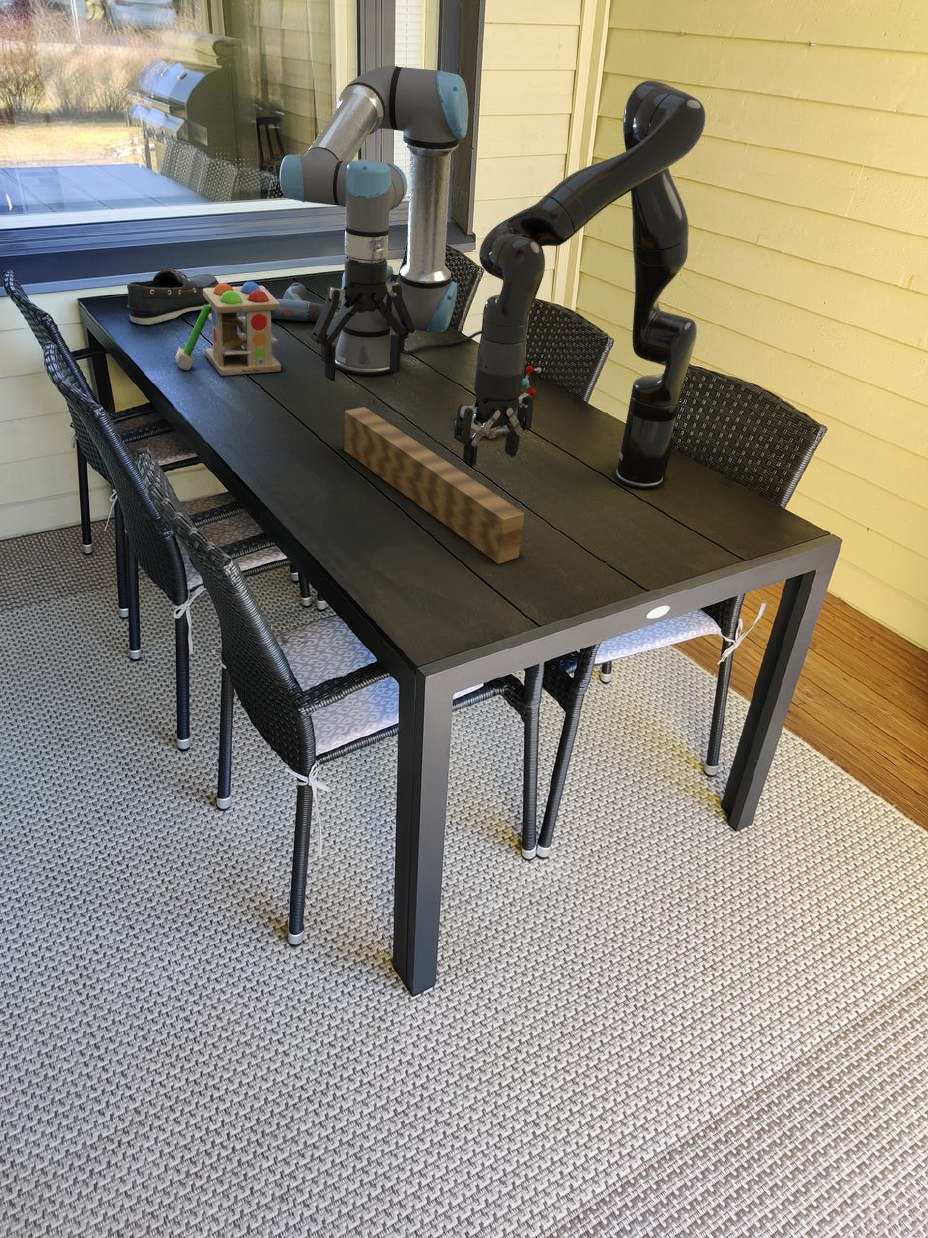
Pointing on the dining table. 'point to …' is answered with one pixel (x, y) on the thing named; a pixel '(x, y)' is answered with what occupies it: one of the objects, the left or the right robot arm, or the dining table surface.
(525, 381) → the molecular model
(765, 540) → the dining table surface
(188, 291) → the boat shoe
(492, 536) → the bar
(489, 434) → the clamp
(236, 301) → the pounding bench toy
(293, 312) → the power drill
